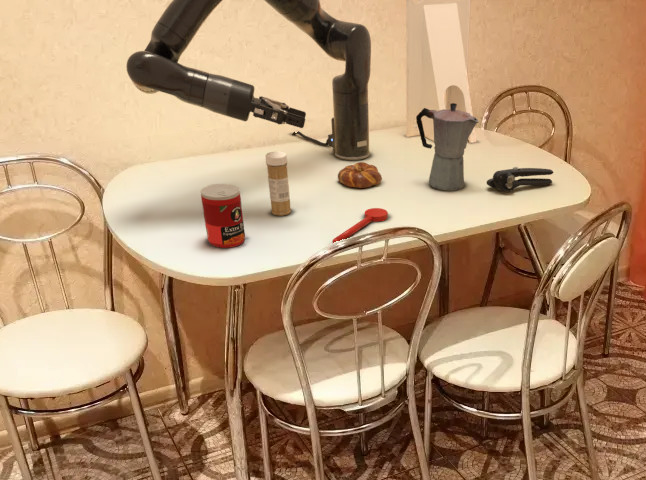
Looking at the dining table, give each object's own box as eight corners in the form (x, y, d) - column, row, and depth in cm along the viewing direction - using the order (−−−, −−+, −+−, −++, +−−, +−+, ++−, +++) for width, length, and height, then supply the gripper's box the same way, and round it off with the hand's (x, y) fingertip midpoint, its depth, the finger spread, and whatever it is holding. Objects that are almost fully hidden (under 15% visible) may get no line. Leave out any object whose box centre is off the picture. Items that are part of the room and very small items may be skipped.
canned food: (227, 251, 158) (220, 199, 152) (199, 242, 161) (191, 191, 155) (253, 239, 163) (248, 188, 157) (226, 230, 167) (219, 180, 160)
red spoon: (344, 248, 160) (344, 242, 160) (323, 243, 162) (323, 237, 161) (391, 215, 176) (391, 209, 175) (371, 211, 178) (371, 205, 177)
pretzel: (338, 173, 198) (337, 159, 196) (380, 173, 199) (380, 158, 197) (337, 190, 188) (336, 175, 186) (382, 189, 189) (382, 174, 187)
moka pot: (472, 194, 188) (476, 110, 177) (410, 188, 190) (411, 105, 179) (478, 181, 196) (483, 100, 184) (418, 176, 198) (420, 95, 187)
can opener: (496, 197, 187) (498, 174, 184) (483, 187, 192) (485, 165, 189) (559, 188, 193) (562, 166, 190) (545, 179, 198) (547, 157, 195)
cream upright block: (431, 149, 217) (434, -10, 194) (406, 135, 227) (406, -17, 204) (489, 139, 225) (499, -14, 203) (463, 127, 235) (469, -20, 213)
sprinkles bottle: (289, 207, 178) (284, 149, 171) (293, 215, 175) (288, 156, 167) (269, 210, 177) (263, 151, 169) (272, 217, 173) (267, 157, 166)
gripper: (228, 82, 154) (308, 106, 158) (235, 75, 166) (309, 98, 170) (221, 120, 157) (300, 143, 161) (228, 110, 169) (301, 132, 173)
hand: (304, 120), depth 165 cm, fingers open, 8 cm apart
